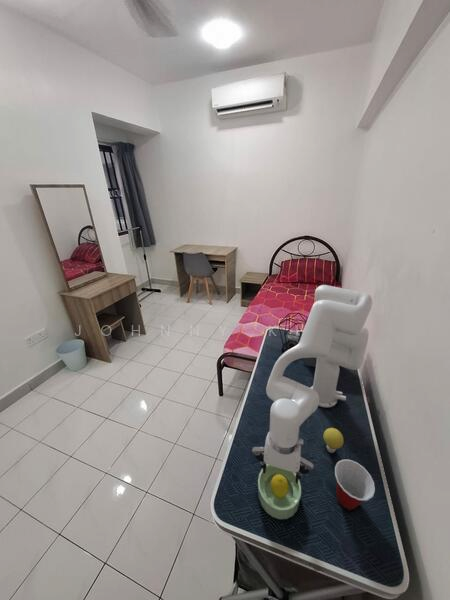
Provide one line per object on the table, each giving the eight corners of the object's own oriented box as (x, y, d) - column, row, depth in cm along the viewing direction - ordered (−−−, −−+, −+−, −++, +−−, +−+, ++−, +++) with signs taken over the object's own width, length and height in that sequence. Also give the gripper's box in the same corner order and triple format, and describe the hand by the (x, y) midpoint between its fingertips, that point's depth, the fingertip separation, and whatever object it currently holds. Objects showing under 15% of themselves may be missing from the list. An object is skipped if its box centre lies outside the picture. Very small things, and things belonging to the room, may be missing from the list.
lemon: (268, 484, 80) (269, 470, 76) (284, 482, 80) (286, 468, 77) (272, 503, 75) (274, 490, 72) (289, 502, 75) (292, 488, 72)
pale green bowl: (300, 479, 81) (301, 468, 79) (298, 527, 70) (300, 517, 68) (261, 467, 85) (262, 457, 83) (254, 511, 74) (254, 501, 72)
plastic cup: (371, 524, 70) (381, 503, 65) (332, 516, 72) (338, 495, 67) (360, 483, 79) (368, 461, 74) (326, 476, 82) (331, 455, 76)
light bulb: (331, 462, 86) (335, 445, 81) (317, 446, 91) (320, 429, 86) (344, 453, 88) (349, 435, 84) (329, 437, 94) (333, 420, 89)
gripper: (316, 433, 66) (310, 468, 73) (254, 418, 71) (255, 453, 79) (317, 461, 59) (310, 496, 67) (249, 443, 65) (250, 477, 72)
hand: (280, 473), depth 73 cm, fingers open, 9 cm apart
